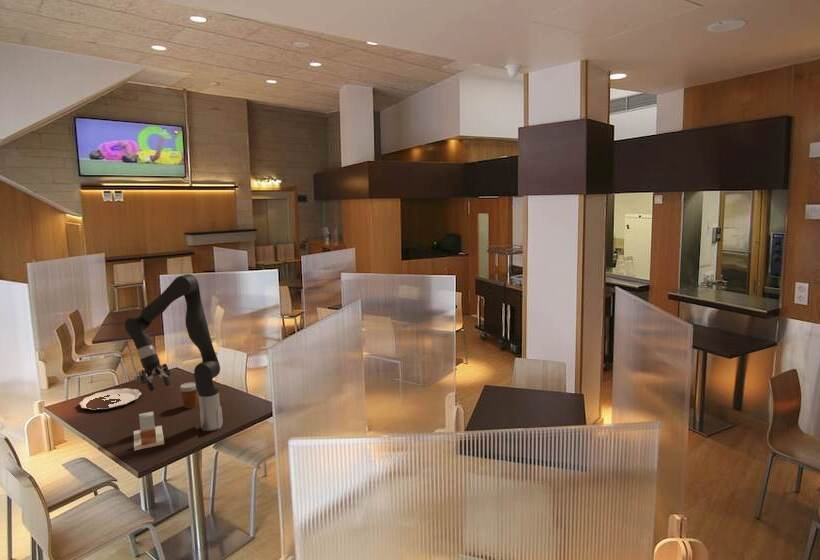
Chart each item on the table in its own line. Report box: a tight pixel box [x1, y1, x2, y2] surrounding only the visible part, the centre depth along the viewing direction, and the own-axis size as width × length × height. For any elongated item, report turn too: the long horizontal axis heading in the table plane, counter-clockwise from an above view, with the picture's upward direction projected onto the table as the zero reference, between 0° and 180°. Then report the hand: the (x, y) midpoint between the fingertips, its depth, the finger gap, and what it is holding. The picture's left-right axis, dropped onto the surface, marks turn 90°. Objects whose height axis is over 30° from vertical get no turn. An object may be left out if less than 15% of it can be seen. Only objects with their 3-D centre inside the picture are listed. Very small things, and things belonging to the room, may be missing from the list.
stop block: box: [140, 428, 156, 445], centre depth 231 cm, size 2×6×6 cm, turn 118°
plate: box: [78, 387, 142, 411], centre depth 285 cm, size 29×29×2 cm
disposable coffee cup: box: [179, 381, 199, 409], centre depth 275 cm, size 10×10×12 cm
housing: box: [133, 425, 165, 451], centre depth 237 cm, size 22×12×2 cm, turn 28°
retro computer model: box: [138, 411, 156, 431], centre depth 241 cm, size 6×6×9 cm
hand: (160, 388), depth 242 cm, fingers open, 8 cm apart
